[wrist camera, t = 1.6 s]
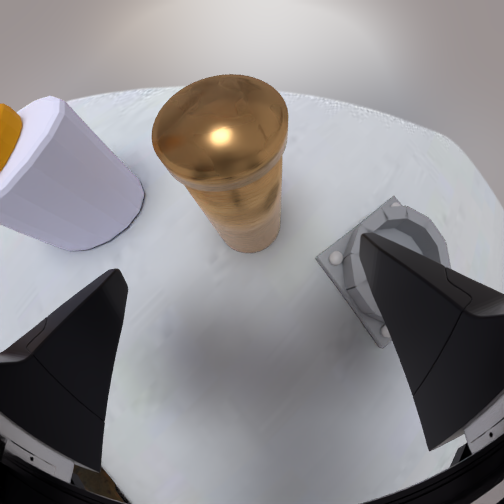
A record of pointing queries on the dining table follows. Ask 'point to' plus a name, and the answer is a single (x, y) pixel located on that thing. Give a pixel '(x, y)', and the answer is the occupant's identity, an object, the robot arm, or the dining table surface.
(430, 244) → the socket
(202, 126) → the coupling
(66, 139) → the soap bottle
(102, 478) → the hand tool
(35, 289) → the dining table surface
